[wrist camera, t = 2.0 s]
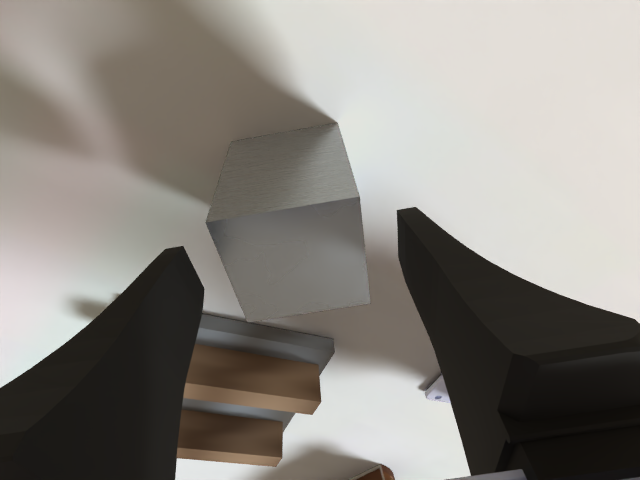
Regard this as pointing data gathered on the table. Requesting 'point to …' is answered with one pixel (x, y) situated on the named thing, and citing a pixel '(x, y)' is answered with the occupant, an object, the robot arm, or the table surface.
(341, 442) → the table surface
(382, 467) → the food container
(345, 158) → the steel block
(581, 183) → the table surface
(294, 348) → the slot seat
